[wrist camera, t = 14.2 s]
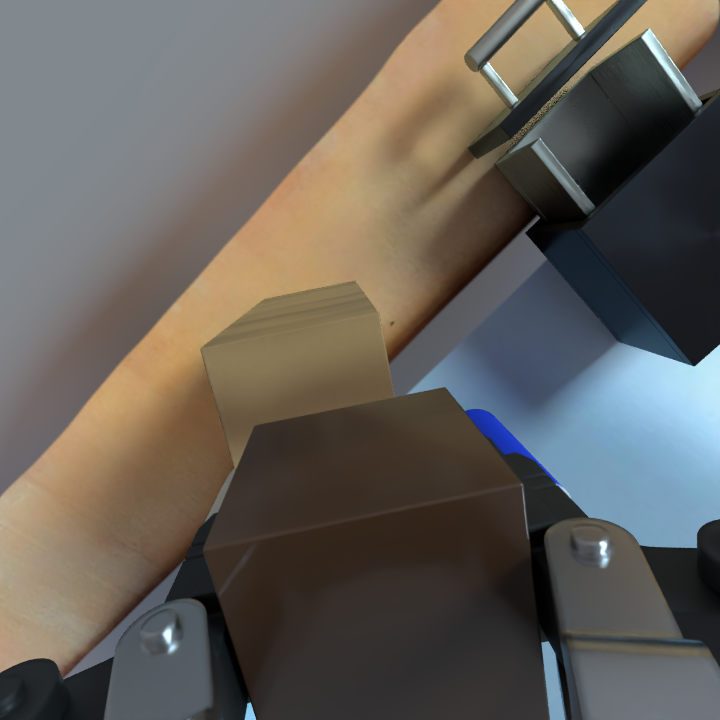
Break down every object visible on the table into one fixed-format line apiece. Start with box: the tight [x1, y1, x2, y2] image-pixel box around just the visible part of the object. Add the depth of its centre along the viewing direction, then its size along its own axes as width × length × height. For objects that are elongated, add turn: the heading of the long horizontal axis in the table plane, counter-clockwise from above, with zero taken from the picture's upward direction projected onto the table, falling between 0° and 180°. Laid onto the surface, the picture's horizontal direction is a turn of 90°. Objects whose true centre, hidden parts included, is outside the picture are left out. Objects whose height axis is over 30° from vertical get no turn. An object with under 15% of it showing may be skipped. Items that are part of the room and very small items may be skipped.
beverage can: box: [465, 409, 571, 498], centre depth 36 cm, size 5×5×15 cm
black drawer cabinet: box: [526, 88, 720, 366], centre depth 36 cm, size 14×13×9 cm
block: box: [203, 387, 550, 720], centre depth 9 cm, size 4×4×4 cm
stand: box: [200, 281, 395, 470], centre depth 31 cm, size 8×8×20 cm
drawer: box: [464, 0, 703, 225], centre depth 34 cm, size 17×11×7 cm, turn 45°
